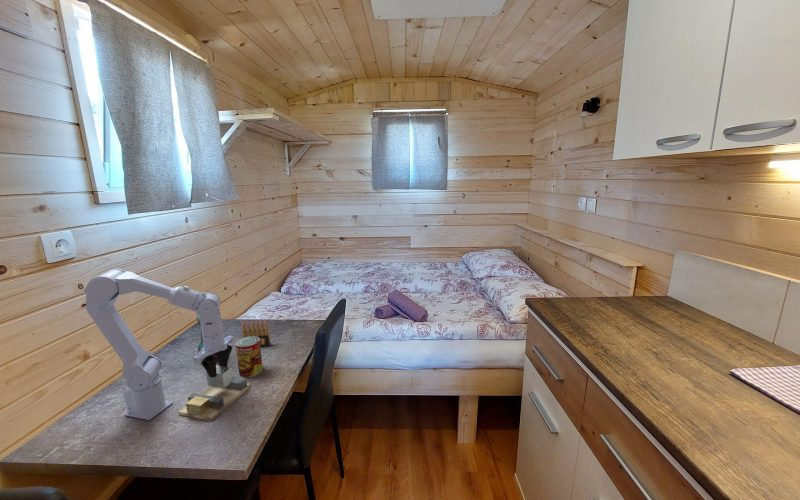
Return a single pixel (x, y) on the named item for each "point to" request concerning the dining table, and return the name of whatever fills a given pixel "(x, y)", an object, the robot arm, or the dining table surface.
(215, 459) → the dining table surface
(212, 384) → the steel block
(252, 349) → the canned food
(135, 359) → the robot arm
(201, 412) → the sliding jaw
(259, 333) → the ammunition clip
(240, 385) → the vise
